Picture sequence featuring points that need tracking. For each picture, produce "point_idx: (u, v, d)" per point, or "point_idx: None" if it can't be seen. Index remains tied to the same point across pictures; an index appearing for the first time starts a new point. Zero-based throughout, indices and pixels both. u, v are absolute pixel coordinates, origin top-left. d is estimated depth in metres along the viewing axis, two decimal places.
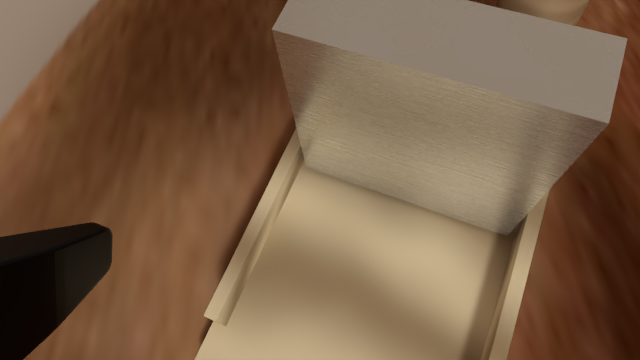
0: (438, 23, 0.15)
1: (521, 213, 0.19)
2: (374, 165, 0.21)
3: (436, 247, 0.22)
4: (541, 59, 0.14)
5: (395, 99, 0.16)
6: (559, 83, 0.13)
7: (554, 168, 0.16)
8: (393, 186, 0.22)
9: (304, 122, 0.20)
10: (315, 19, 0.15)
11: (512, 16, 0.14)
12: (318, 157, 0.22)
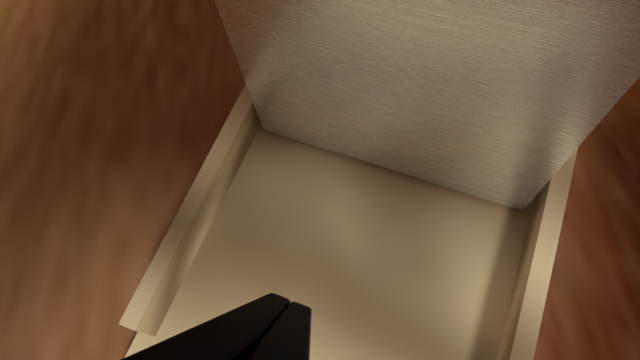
0: None
1: (545, 175, 0.14)
2: (346, 118, 0.16)
3: (431, 227, 0.17)
4: None
5: None
6: None
7: (602, 94, 0.10)
8: (373, 148, 0.17)
9: (248, 58, 0.15)
10: None
11: None
12: (275, 112, 0.17)
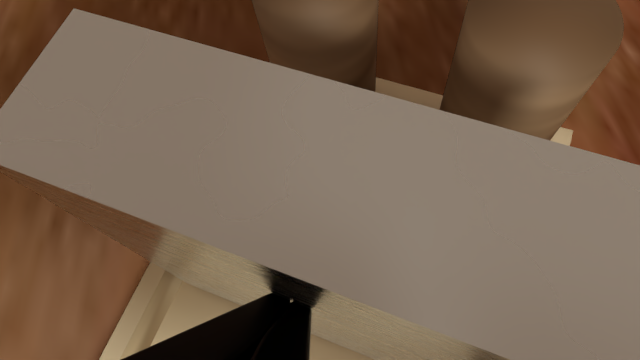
0: (298, 141, 0.07)
1: None
2: None
3: None
4: (511, 233, 0.06)
5: (237, 272, 0.08)
6: (553, 299, 0.06)
7: None
8: None
9: (142, 253, 0.12)
10: (56, 130, 0.07)
11: (453, 126, 0.07)
12: (192, 281, 0.15)
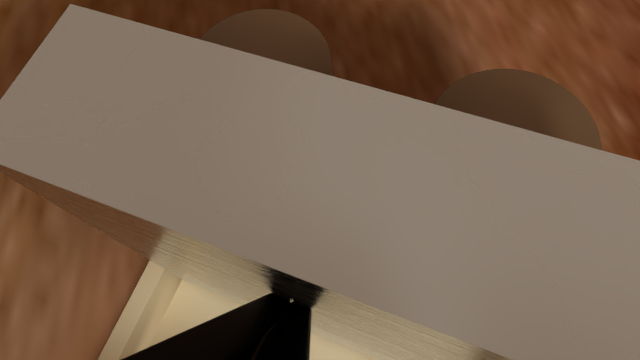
0: (299, 138, 0.07)
1: None
2: None
3: None
4: (514, 232, 0.06)
5: (236, 271, 0.08)
6: (558, 299, 0.06)
7: None
8: None
9: (140, 252, 0.12)
10: (53, 128, 0.07)
11: (455, 123, 0.07)
12: (191, 280, 0.15)
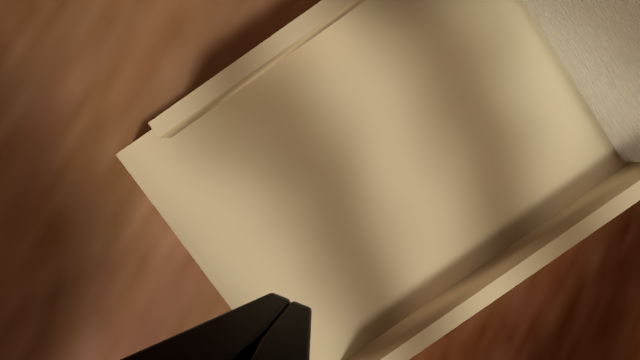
0: None
1: None
2: None
3: (439, 198, 0.18)
4: None
5: None
6: None
7: None
8: (565, 30, 0.16)
9: None
10: None
11: None
12: None
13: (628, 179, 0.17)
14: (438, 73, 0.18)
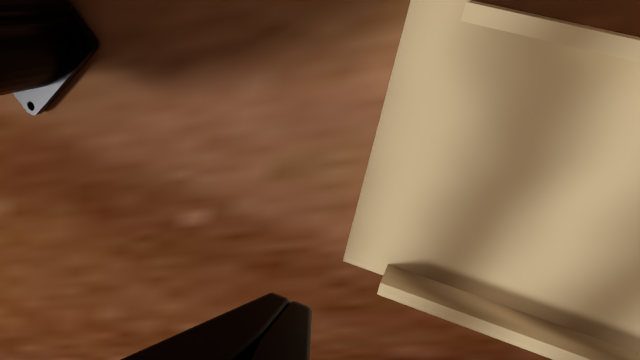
0: None
1: None
2: None
3: (576, 258, 0.19)
4: None
5: None
6: None
7: None
8: None
9: None
10: None
11: None
12: None
13: None
14: None
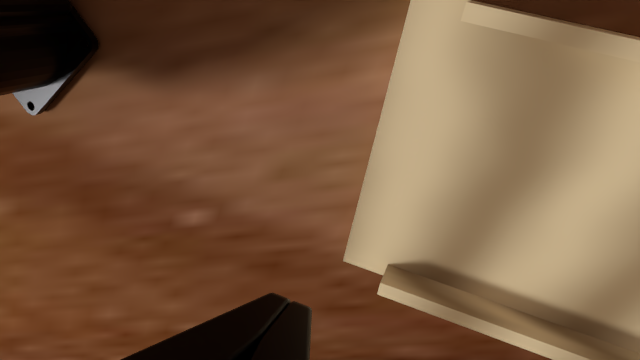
0: None
1: None
2: None
3: (576, 258, 0.19)
4: None
5: None
6: None
7: None
8: None
9: None
10: None
11: None
12: None
13: None
14: None
